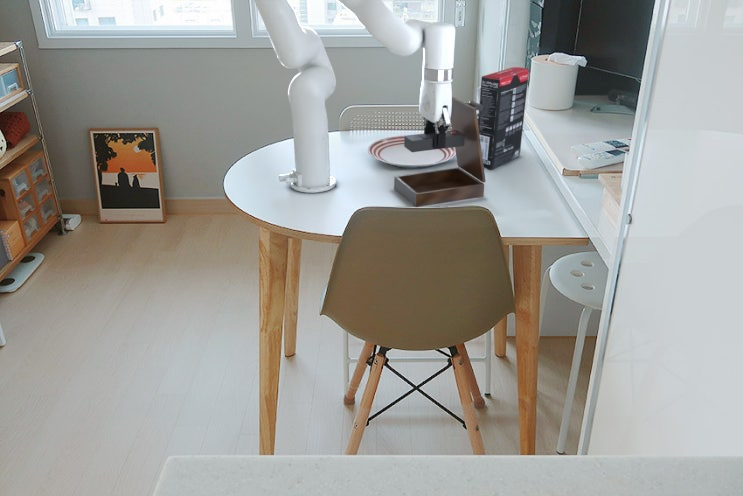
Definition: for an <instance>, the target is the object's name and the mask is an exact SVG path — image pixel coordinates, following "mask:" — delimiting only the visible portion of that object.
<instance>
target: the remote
mask: <svg viewBox="0 0 743 496" xmlns="http://www.w3.org/2000/svg"><path fill="white" fill-rule="evenodd" d="M434 133H435V132H433V133H424V132H423V133H415V134H408V135H407V134H405V135H406V136H405V135H404V136H405V137H404V147H405V148H407V149H408V150H409V151H411V152H419V151H427V150H435V149H434V148H433V140H434ZM464 143H465V135H464V134H462V133H461V132H459V131H457V130H452V129H451V130H447V133H446V142H445V147H444V148H452V147H460V146H464ZM444 148H437V149H444Z"/></svg>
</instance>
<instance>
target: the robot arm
mask: <svg viewBox="0 0 743 496" xmlns="http://www.w3.org/2000/svg"><path fill="white" fill-rule="evenodd" d="M336 1H337V2H338V3H339V4H341V5H342V6H343V7H344V8H345V9H346V10H347V11H349V12H350V13H351V14H353V15H354V17H355V19H356V20H357V21H358V22H359V23H360V24H361V26H362V27H363V28H364V29H365V31H366V32H367V33H368V34H369V35H370V36H372V38H373V39H375V40H376V41H377V42H378V43H379V44H381V45H382V46H383V47H384V48H386V49H387V50H388V51H389V52H391V53H393V54H394V55H397V56H399V57H410V56H411V55H413V54H414V53H415V52H417V51H420V50H423V59H422V60H423V61H422V80H421V84H420V85H421V86H420V92H419V93H420V94H419V105H418V106H419V107H418V114H419V115H420V116H421V117H422V118H423V134H424V133H433V132H435V133H434V140H433V148H434V149H437V148H444V147H445V142H446V133H447V131H448V129H449V127H451V126H452V125H451V110H452V97H453V89H452V82H453V79H454V66H455V65H454V62H455V48H456V47H455V46H456V27H455V25H454V24H453V23H450V22H446V21H435V22H431V21H424V20H419V19H414V18H409V19H406V20H402V19H401V18H400V17H399V16H397V15H396V14H395V13H394V12H393V11H392V10H391V9H389V8H388V6H386V4H385V3H384V1H383V0H336ZM254 3H255V6H256V8H257V10H258V12H259V15H260V17H261V19H262V22H263V25H264V26H265V27H264V28H265V31H266V33H267V34H268V38H269V40H270V42H271V45H272V47H273V50H274V53H275V54H276V57H277V59H278V61H279V63H280V64H281V65H282V66H283V67H285V68H287V69H291V70H294V69H297V71H298V73H297V74H296V75H295V76H294V77H293V78H292V80H291V81H290V83H289V86H288V90H287V97H288V103H289V107H290V113H291V118H292V119H291V120H292V121H291V122H292V133H293V150H294V167H295V168H292V171H291V172H289V173H285V174H284V173H283V174H278V181H279V182H280V183H281V182H285V184H290V187H291V189H293V190H294V191H297V192H301V193H307V194H309V193H311V194H312V193H314V194H315V193H322V192H326V191H329V190H332V189H333V188H335V187H336V186H337V181H336V178H334V177H333V176H331V165H330V138H329V119H328V112H327V108H326V100H327V99H329V98H330V97H331V96H332V95H333V94H334V92H335V91H336V87H337V78H336V74H335V71H334V68H333V66H332V64H331V61H330V59H329V56H328V53H327V51H326V48H325V45H324V43H323V41H322V39H321V37H320V36H319V34H318V33H317V32H316V31H315V30H314V29H313V28H311V27H309V26H306V25H305V26H304V25H301V23H300V21H299V19H298V16H297V13H296V10H295V9H294V7H293V5H292V4H291V2H290V0H254ZM441 119H442V120H441Z"/></svg>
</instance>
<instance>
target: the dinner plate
mask: <svg viewBox="0 0 743 496" xmlns="http://www.w3.org/2000/svg"><path fill="white" fill-rule="evenodd" d="M406 135H407V134H405V135H395V136H387V137H384V138H381V139H378V140H375V141H374V142H372V143H370V144H369V145H368V147H367V153H368V155H369V156H371V157H372V158H373V159H375V160H377V161H379V162H382V163H385V164H387V165H391V166H395V167H398V168H407V169H417V168H418V169H421V168H422V169H423V168H428V167H432V166H435V165H439V164H442V163H446V162H448V161H450V160H453V158H454V157H456V151H455V147H452V148H444V149H435V150H427V151H419V152H411V151H409V150H408V149H407V148H405V147H404V137H405V136H406Z"/></svg>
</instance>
